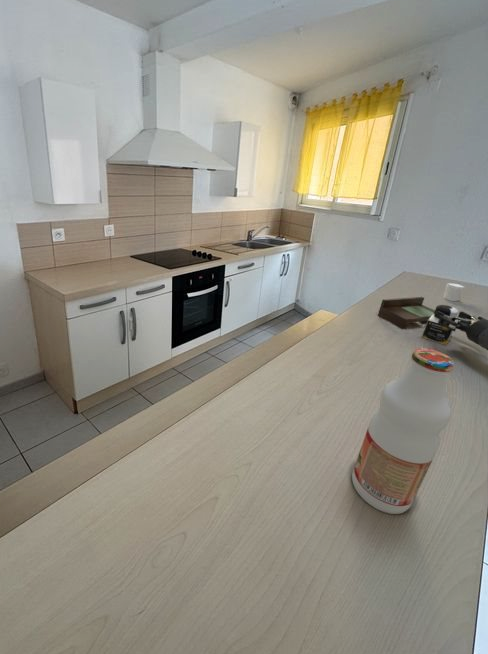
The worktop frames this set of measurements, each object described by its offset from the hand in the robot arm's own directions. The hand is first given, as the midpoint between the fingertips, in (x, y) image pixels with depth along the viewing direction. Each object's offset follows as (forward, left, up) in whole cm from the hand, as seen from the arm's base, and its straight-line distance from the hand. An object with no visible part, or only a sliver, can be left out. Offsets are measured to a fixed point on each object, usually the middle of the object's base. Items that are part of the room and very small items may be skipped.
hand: (447, 313), depth 109 cm
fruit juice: (+67, +43, -10) cm, 80 cm away
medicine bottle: (0, -1, -10) cm, 10 cm away
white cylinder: (-46, -31, -10) cm, 56 cm away
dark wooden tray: (-4, -15, -10) cm, 18 cm away
